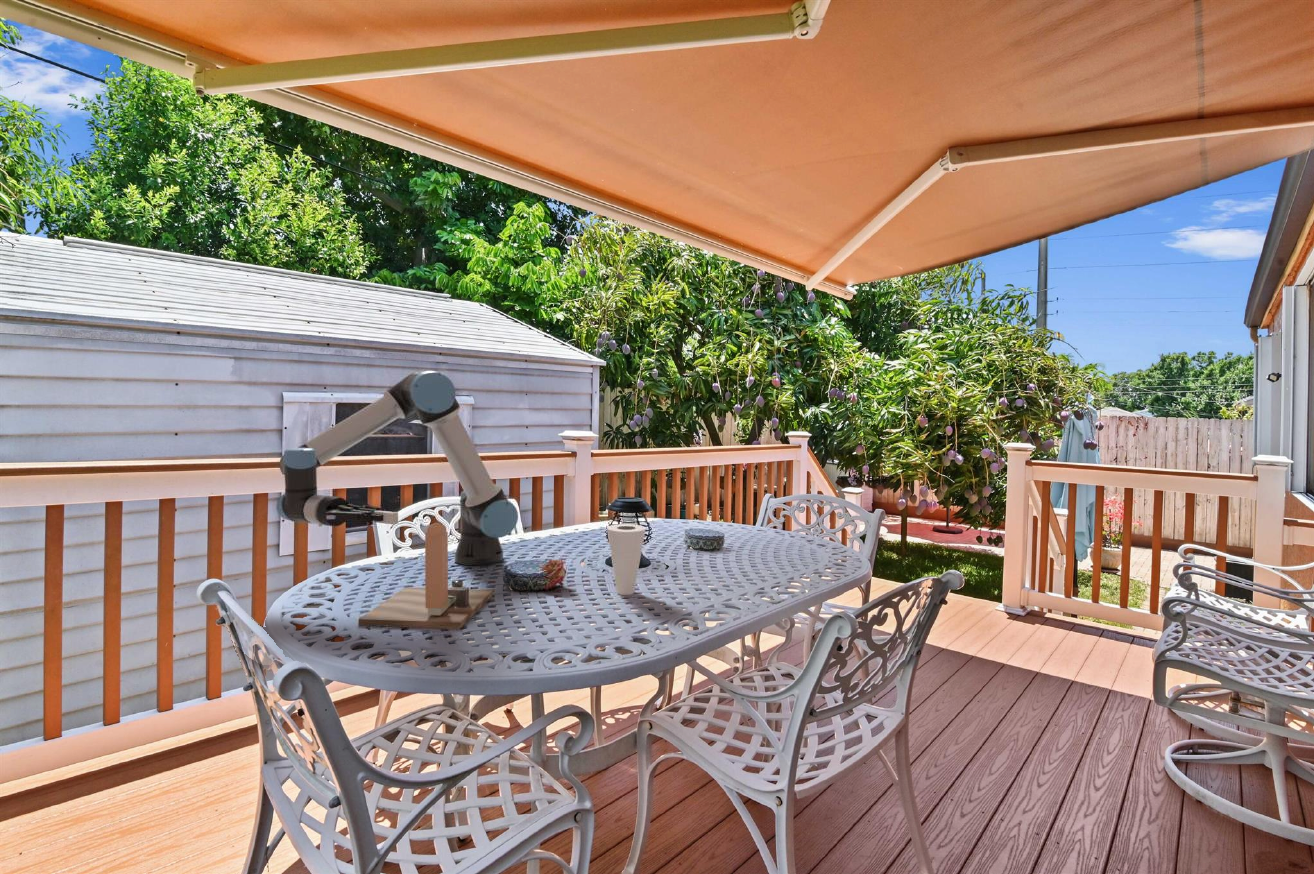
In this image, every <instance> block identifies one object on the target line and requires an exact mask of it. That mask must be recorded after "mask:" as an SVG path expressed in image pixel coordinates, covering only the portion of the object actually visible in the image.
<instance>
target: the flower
mask: <svg viewBox="0 0 1314 874" xmlns="http://www.w3.org/2000/svg"><path fill="white" fill-rule="evenodd" d="M566 563H567V561H566V560H565V561H564V560H563V558H562V557H561V558H559V559H549V560H548V561H547V563H545V564H543V565H542V566H540V567H539V568H542V569H541V570H542V571H544V570H546V571H544V573H543V574H546V573H549V574H548V576H546V577H549V578H550V580H547V581H545V582H543V583H542V584H545V583H547V582H548V581H549V582H550V584H551V585H544V590H547V591H548V590H549V589H552V588H553V587H556V585H557V584H559V585H560V587H562V586H564V582H563V581H564V580H565V578H566V576H567V569H568V565H566V567H564V564H566ZM549 587H550V588H549Z"/></svg>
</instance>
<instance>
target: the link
mask: <svg viewBox="0 0 1314 874" xmlns="http://www.w3.org/2000/svg"><path fill="white" fill-rule="evenodd" d="M425 533H426V534H425V536H424V540H425V541H424V542H425V543H424V549H425V550H424V552H425V553H424V554H425V555H424V558H425V560H424V562H425V564H424V567H425V569H424V570H425V571H424V573H425V576H424V577H425V579H424V580H425V587H424V588H425V599H426V608H428V615H441V614H442V613H443V612H444V611H445V610H446V609H447V608H448V607H449V606H450V605H451V604H452V603H453V602H454V601H455V600H456V596H448V587H452V584H451V585H449V582H448V581H449V578H448V576H449V571H448V570H449V561H448V560H449V559H448V557H449V555H448V554H449V553H448V552H449V551H448V550H449V549H448V544H449V543H448V540H449V537H448V534H449V533H448V531H447V528H446V526H445V525H444V524H443V523H441V522H434V523H431V524H429V525H428V527H427V528H426V531H425ZM461 587H464V588H467V585H466V584H463V586H461Z"/></svg>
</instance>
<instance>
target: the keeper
mask: <svg viewBox="0 0 1314 874" xmlns="http://www.w3.org/2000/svg"><path fill="white" fill-rule="evenodd" d="M451 585H452V587H449V586H448V596H456V607H463V608H466V607H467V606H468V605H469V589H470V587H466V588H464V587H461V586H463V585H464V580H463V579H454V580H451Z"/></svg>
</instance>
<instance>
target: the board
mask: <svg viewBox="0 0 1314 874" xmlns="http://www.w3.org/2000/svg"><path fill="white" fill-rule="evenodd" d="M493 596H494V590H493V589H472V588H469V605H468V606H467V607H466V608H463V607H456V600H455V601H454V602H453V603H452V604H451V605H450V606H449V607H448V608H447V609H446V610H445V611H444V612H443V613H442V614H441V615H428V608H426V599H425V587H412V586H411V587H408V586H405V587H403V588H402V589H401V590H399V591H397V592H396V593H395V594H393V595H392V596H390V597H388V599H386V600H384V601H383V602H382V603H380V604H378V605H377V606H376V607H374V608H372V609H371V610H369V611H368V612H366V613H365V614H363V616H361V617H359V618H358V626H363V625H385V626H384V627H391V626H397V628H418V627H420V628H424V629H452V630H461V629H462V628H463V626H465V625H466V623H467V622H468V621H469V620H470V619H471V618H473V616H474V615H476V613H478V612H479V610H481V608H482V607H483V606H484V605H485V604H486V603H487V602H488V601H489V600H490V599H491V598H492V597H493ZM386 625H388V626H386Z"/></svg>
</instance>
